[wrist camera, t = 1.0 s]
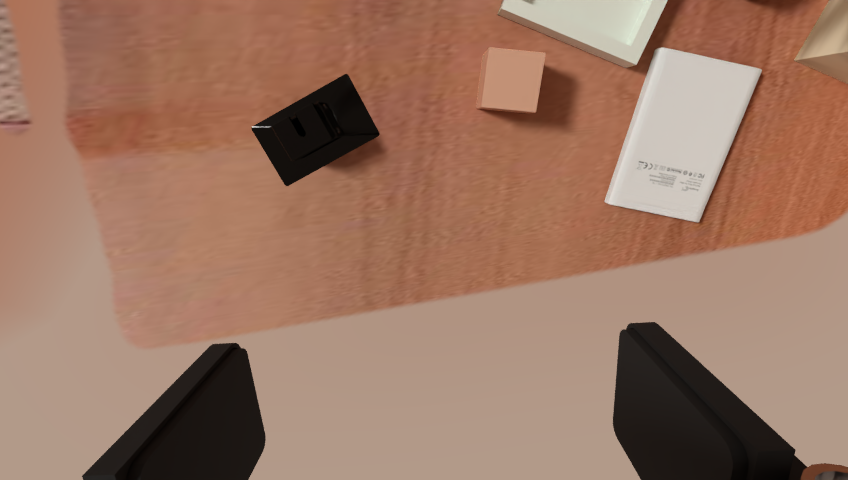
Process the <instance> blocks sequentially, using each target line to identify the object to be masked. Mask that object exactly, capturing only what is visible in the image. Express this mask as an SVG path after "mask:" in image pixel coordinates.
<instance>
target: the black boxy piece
mask: <svg viewBox="0 0 848 480" xmlns="http://www.w3.org/2000/svg"><path fill="white" fill-rule="evenodd" d="M252 131H253V132H254V134H255V136H256V137H257V139H258V141H259V142H260V144H261V146H262V147H263V149H264V151H265V152H266V154H267V156H268V157H269V159H270V161H271V162H272V164H273V166H274V167H275V169H276V171H277V172H278V174H279V176H280V177H281V179H282V181H283V182H284V184H285V185H286V186H289V185H291V184H292V183H294V182H296V181H298V180H300V179H301V178H303V177H305V176H307V175H309V174H310V173H312V172H314V171H316V170H318V169H320V168H321V167H323V166H325V165H327V164H329V163H330V162H332V161H334V160H336V159H338V158H339V157H341V156H343V155H345V154H347V153H348V152H350V151H352V150H354V149H356V148H358V147H359V146H361V145H363V144H365V143H367V142H368V141H370V140H372V139H374V138H376V137H377V136H379V132H378V130H377V128H376V126H375V124H374V122H373V120H372V118H371V117H370V115H369V113H368V111H367V109H366V107H365V105H364V104H363V102H362V100H361V98H360V96H359V94H358V92H357V91H356V89H355V87H354V85H353V83H352V81H351V79H350V78H349V76H348V75H347V74H345V75H343V76H341V77H339V78H338V79H336V80H334V81H332V82H331V83H329V84H327V85H325V86H323V87H322V88H320V89H318V90H316V91H315V92H313V93H311V94H309V95H308V96H306V97H304V98H302V99H300V100H299V101H297V102H295V103H293V104H292V105H290V106H288V107H286V108H285V109H283V110H281V111H279V112H277V113H276V114H274V115H272V116H270V117H269V118H267V119H265V120H263V121H262V122H260V123H258V124H256V125H254V126H253V127H252Z"/></svg>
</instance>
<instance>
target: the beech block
mask: <svg viewBox="0 0 848 480" xmlns="http://www.w3.org/2000/svg"><path fill="white" fill-rule="evenodd" d="M794 61H796V62H798V63H801V64H803V65H805V66H808V67H810V68H812V69H814V70H817V71H819V72H821V73H824V74H826V75H828V76H831V77H833V78H835V79H838V80H840V81H842V82H844V83H847V84H848V0H829V2H828V3H827V5H826V7H825V8H824V10H823V12H822V14H821V15H820V17H819V19H818V20H817V22H816V24H815V25H814V27H813V29H812V31H811V32H810V34H809V36H808V37H807V39H806V41H805V42H804V44H803V46H802V48H801V49H800V51H799V53H798V54H797V56H796V58H795V59H794Z"/></svg>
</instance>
